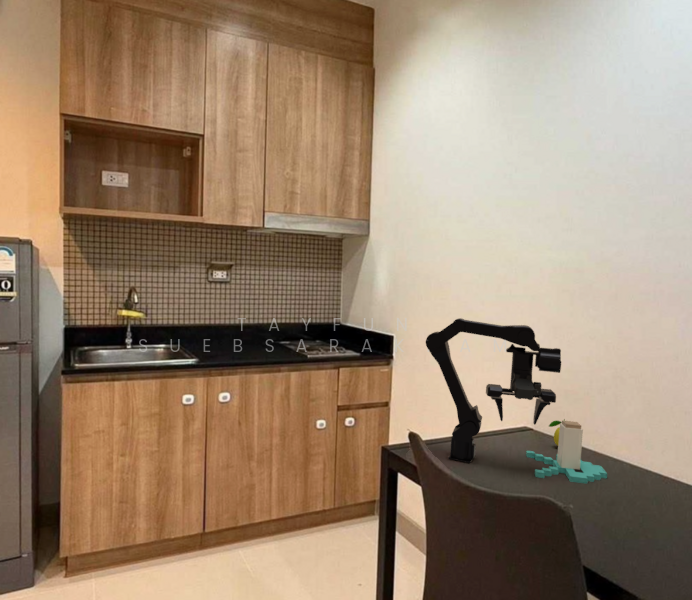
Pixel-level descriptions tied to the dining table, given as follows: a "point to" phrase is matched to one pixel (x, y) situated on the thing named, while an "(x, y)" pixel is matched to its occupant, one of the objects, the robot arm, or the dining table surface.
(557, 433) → the lemon
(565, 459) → the canister
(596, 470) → the alien figure
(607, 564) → the dining table surface
